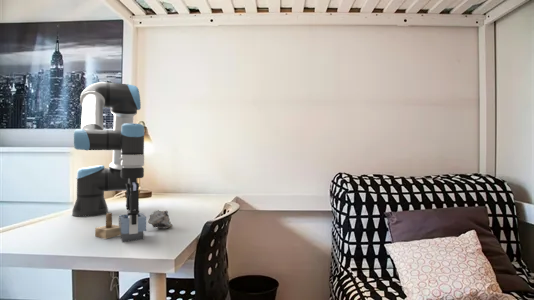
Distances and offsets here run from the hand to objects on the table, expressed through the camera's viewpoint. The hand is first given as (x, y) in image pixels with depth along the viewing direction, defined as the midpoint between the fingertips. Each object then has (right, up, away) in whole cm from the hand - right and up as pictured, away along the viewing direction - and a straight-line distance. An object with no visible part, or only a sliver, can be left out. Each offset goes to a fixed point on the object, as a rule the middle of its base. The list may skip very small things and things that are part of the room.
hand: (131, 230), depth 109 cm
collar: (0, 0, 0) cm, 0 cm away
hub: (0, -3, 0) cm, 3 cm away
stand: (-10, -3, +4) cm, 11 cm away
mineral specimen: (+5, -3, +14) cm, 16 cm away
